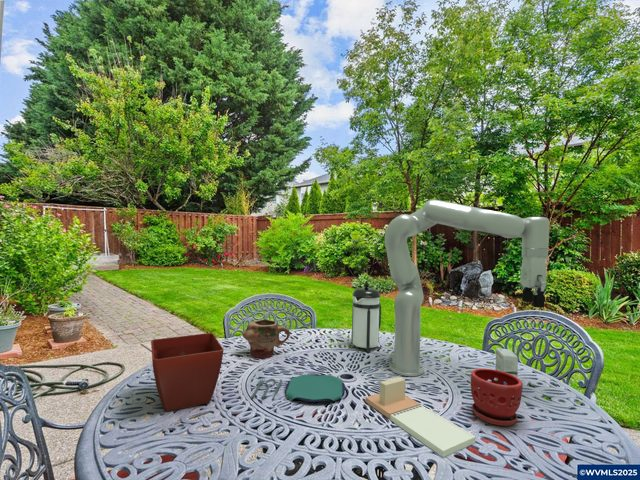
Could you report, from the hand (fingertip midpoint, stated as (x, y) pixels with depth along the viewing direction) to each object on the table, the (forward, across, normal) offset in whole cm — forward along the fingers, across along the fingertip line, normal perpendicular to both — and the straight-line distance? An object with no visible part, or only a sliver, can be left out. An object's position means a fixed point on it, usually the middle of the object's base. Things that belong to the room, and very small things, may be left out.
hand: (532, 304), depth 113 cm
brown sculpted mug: (+31, -6, -98) cm, 103 cm away
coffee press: (+30, -29, -58) cm, 72 cm away
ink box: (+30, -3, -6) cm, 31 cm away
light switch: (+30, +23, -45) cm, 59 cm away
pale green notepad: (+30, +34, -34) cm, 57 cm away
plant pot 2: (+30, +21, -16) cm, 40 cm away
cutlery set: (+31, +21, -74) cm, 83 cm away
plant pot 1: (+31, +37, -106) cm, 117 cm away
